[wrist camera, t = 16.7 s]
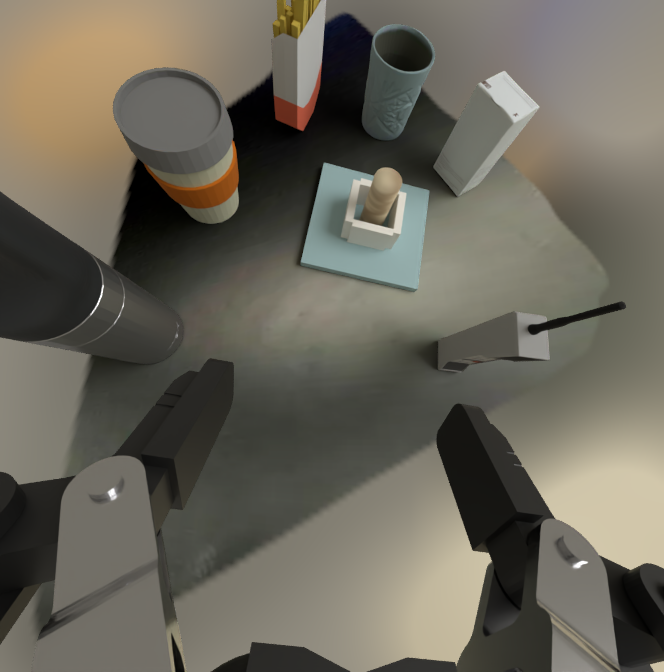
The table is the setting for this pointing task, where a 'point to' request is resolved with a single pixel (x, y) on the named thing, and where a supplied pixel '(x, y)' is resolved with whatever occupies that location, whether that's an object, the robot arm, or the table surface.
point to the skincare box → (484, 132)
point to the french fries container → (297, 59)
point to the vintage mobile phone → (506, 339)
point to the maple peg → (381, 196)
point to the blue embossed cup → (395, 79)
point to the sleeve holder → (365, 231)
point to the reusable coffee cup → (182, 139)
